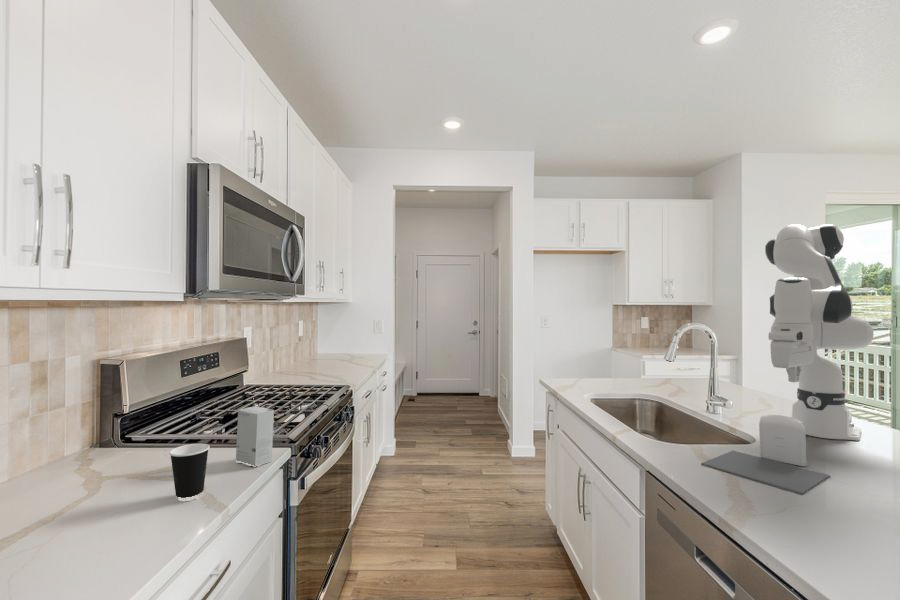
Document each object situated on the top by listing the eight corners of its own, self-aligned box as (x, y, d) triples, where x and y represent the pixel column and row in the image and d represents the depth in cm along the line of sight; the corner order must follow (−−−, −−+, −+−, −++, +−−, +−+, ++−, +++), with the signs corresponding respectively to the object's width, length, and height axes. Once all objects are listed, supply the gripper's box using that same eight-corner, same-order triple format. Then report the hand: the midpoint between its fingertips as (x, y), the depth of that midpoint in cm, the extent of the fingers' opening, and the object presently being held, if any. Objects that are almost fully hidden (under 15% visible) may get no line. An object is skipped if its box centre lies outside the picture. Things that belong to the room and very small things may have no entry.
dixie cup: (160, 502, 95) (160, 452, 95) (193, 487, 103) (193, 441, 103) (186, 507, 92) (186, 456, 93) (217, 492, 100) (217, 445, 100)
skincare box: (235, 463, 118) (235, 409, 118) (254, 456, 124) (254, 405, 124) (256, 468, 114) (256, 413, 114) (274, 461, 120) (274, 408, 120)
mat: (733, 451, 125) (733, 450, 125) (830, 476, 107) (830, 475, 107) (701, 464, 115) (701, 463, 115) (802, 494, 97) (802, 493, 97)
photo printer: (757, 457, 120) (756, 413, 120) (762, 454, 123) (761, 411, 123) (804, 468, 112) (803, 421, 112) (808, 464, 115) (807, 418, 115)
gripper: (794, 331, 131) (795, 377, 131) (765, 333, 120) (766, 383, 120) (820, 332, 126) (821, 380, 126) (792, 335, 115) (793, 386, 114)
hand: (794, 381), depth 122 cm, fingers closed
